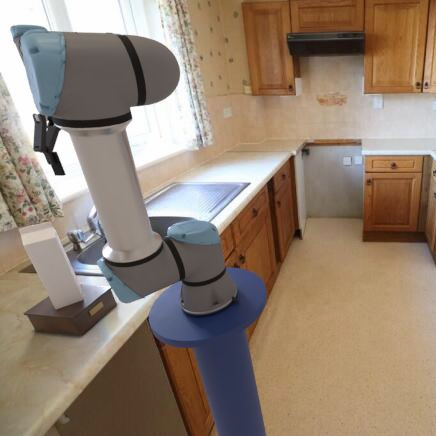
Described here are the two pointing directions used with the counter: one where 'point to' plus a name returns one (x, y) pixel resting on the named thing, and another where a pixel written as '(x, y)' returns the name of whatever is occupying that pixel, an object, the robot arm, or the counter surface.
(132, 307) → the counter surface
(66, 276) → the milk
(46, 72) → the robot arm
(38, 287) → the counter surface
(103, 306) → the walnut box
